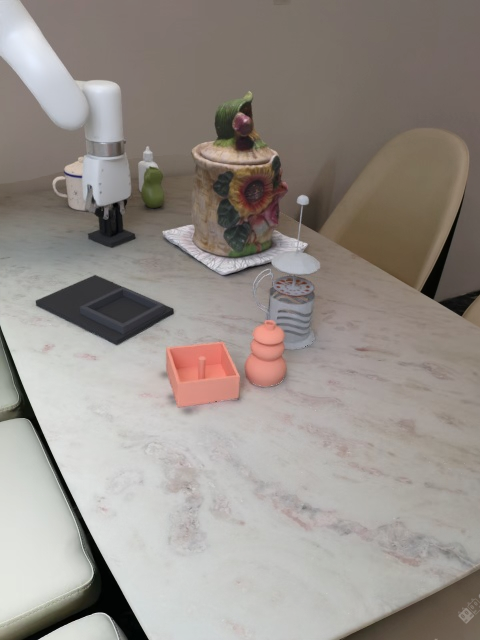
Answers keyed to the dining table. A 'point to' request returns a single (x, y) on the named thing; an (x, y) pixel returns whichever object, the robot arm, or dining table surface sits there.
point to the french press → (292, 294)
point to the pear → (152, 188)
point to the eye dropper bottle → (145, 165)
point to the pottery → (224, 367)
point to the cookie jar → (235, 197)
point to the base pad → (105, 308)
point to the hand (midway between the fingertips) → (111, 231)
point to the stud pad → (112, 238)
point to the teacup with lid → (73, 185)
